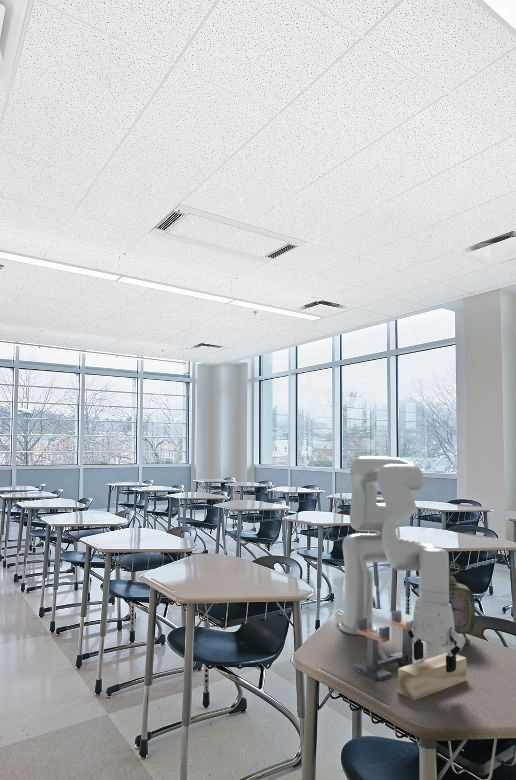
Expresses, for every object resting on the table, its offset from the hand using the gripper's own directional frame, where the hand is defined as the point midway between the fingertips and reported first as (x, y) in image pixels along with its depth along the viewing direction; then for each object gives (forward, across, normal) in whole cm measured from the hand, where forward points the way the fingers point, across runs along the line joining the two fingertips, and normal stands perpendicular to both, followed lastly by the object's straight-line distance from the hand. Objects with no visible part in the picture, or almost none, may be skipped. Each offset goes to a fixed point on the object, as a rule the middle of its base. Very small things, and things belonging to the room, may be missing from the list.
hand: (434, 665), depth 139 cm
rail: (+6, 0, 0) cm, 6 cm away
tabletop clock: (+5, -20, +35) cm, 41 cm away
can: (+5, -10, +16) cm, 20 cm away
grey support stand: (+5, -14, 0) cm, 15 cm away
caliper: (+5, -24, +6) cm, 26 cm away
